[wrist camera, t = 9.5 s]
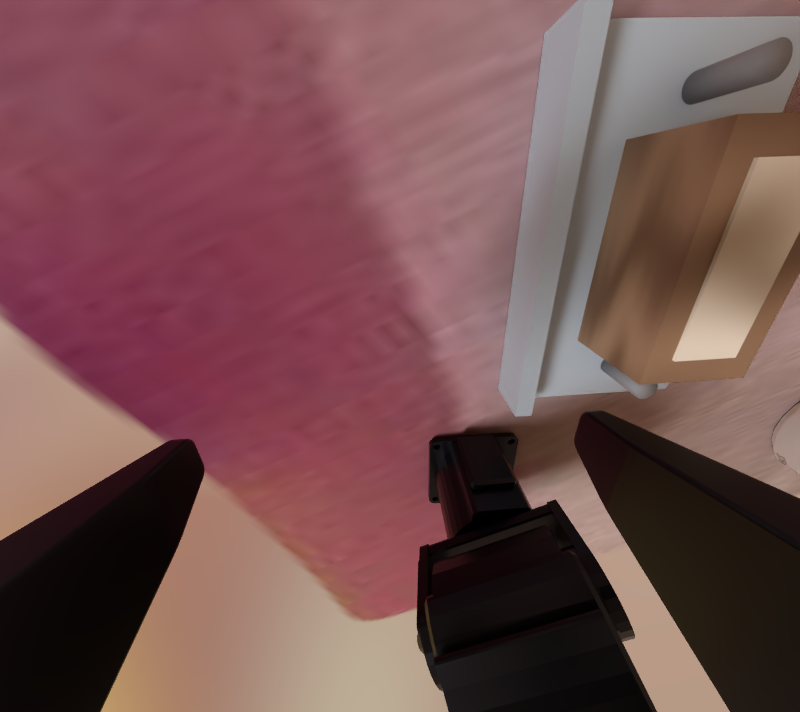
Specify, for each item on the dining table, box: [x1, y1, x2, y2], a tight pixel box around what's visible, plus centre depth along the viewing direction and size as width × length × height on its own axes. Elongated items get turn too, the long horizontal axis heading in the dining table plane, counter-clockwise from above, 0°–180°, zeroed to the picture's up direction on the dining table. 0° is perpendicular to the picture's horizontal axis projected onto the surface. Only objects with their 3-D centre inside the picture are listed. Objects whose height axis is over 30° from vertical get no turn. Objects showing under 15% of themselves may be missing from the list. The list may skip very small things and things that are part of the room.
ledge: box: [498, 0, 800, 417], centre depth 16 cm, size 18×11×4 cm, turn 2°
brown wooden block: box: [577, 112, 800, 385], centre depth 14 cm, size 10×5×5 cm, turn 2°
